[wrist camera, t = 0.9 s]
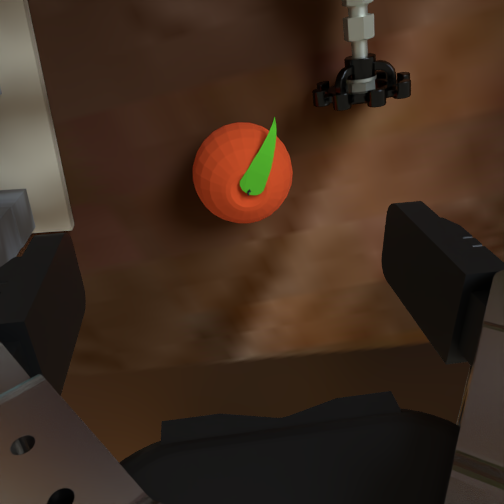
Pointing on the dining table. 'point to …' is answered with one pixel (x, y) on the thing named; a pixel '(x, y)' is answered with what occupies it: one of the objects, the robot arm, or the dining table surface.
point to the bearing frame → (26, 140)
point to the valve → (361, 68)
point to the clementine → (242, 172)
